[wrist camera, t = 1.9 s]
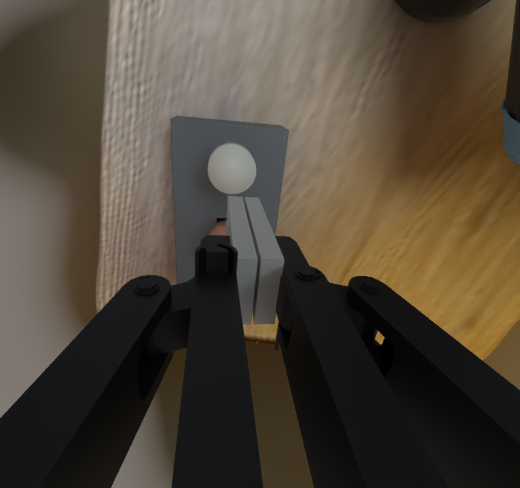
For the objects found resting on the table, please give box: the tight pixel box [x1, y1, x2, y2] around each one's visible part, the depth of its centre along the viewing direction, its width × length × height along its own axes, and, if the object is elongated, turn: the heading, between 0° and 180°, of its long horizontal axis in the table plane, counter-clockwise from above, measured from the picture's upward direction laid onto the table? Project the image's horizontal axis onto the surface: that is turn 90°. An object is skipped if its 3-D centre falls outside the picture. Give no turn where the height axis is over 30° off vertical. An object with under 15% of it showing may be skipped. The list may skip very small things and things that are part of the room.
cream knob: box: [208, 142, 256, 194], centre depth 29 cm, size 4×4×7 cm
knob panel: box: [171, 116, 289, 284], centre depth 37 cm, size 12×23×5 cm, turn 174°
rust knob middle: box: [208, 218, 227, 235], centre depth 33 cm, size 4×4×7 cm
